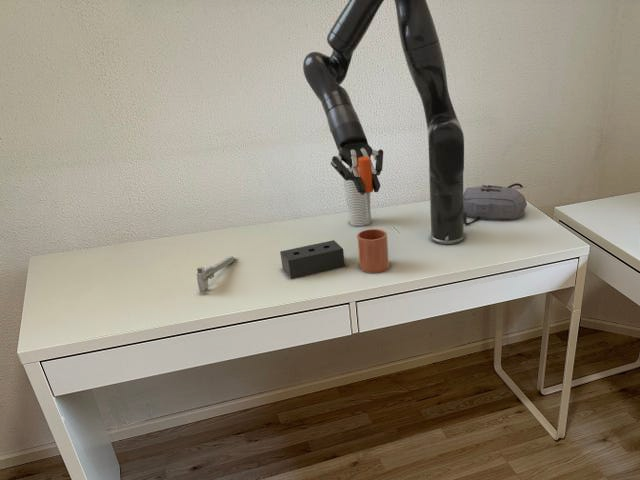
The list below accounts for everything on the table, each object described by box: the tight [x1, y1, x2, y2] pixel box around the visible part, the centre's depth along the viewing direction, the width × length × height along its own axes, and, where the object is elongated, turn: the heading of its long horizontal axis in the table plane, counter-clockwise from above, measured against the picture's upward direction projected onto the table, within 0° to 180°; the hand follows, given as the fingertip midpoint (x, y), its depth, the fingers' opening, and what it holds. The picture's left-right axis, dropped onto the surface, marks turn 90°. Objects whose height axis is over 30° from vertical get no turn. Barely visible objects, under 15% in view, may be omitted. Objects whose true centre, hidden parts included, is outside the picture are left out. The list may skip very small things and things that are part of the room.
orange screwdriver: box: [358, 157, 374, 220], centre depth 164 cm, size 3×3×15 cm
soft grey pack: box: [463, 184, 528, 221], centre depth 207 cm, size 15×8×20 cm
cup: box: [340, 167, 371, 227], centre depth 197 cm, size 8×8×16 cm
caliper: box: [196, 255, 236, 294], centre depth 169 cm, size 20×1×6 cm, turn 176°
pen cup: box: [356, 228, 390, 274], centre depth 173 cm, size 7×7×9 cm
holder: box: [279, 239, 346, 280], centre depth 174 cm, size 6×14×5 cm, turn 122°
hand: (370, 191), depth 163 cm, fingers closed on orange screwdriver, 3 cm apart
